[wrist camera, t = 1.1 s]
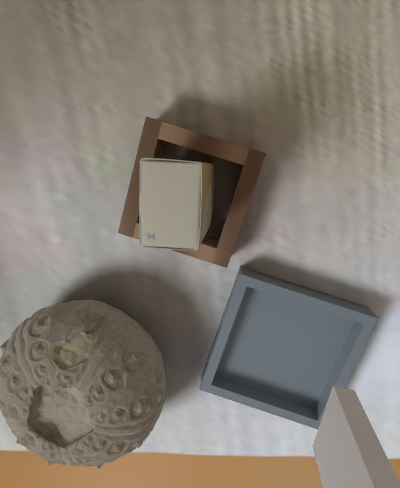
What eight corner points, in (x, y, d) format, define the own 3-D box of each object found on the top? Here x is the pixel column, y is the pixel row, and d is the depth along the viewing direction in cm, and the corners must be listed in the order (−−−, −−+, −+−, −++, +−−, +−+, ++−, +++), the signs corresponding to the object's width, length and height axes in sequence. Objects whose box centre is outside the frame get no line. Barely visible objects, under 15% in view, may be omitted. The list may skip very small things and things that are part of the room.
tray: (201, 375, 40) (199, 389, 37) (240, 266, 36) (240, 274, 34) (318, 414, 39) (323, 431, 37) (368, 307, 36) (378, 318, 33)
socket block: (129, 225, 36) (118, 232, 33) (155, 120, 34) (146, 116, 30) (228, 257, 36) (226, 267, 33) (263, 154, 33) (265, 153, 30)
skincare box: (212, 224, 35) (199, 256, 24) (171, 221, 36) (137, 251, 24) (216, 160, 34) (204, 160, 22) (172, 157, 34) (138, 157, 22)
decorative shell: (15, 290, 40) (-56, 332, 30) (164, 281, 38) (138, 323, 28) (47, 420, 44) (-7, 494, 34) (183, 420, 42) (166, 498, 32)
